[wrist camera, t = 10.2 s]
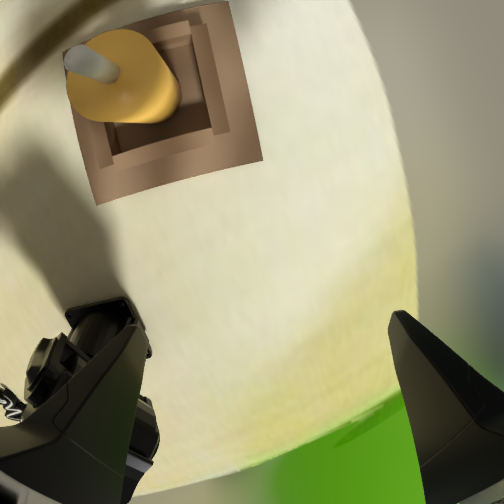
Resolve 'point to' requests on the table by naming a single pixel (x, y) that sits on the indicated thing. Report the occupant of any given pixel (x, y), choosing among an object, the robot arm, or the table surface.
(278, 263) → the table surface
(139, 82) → the yellow cylindrical piece
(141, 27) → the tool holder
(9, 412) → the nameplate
